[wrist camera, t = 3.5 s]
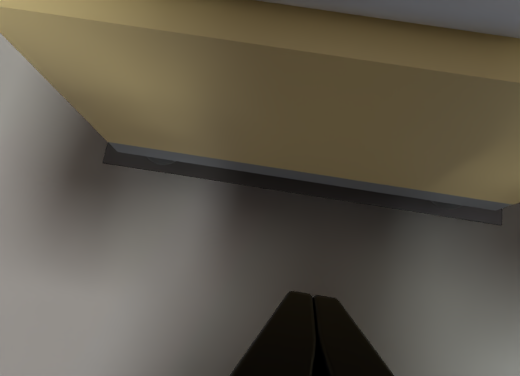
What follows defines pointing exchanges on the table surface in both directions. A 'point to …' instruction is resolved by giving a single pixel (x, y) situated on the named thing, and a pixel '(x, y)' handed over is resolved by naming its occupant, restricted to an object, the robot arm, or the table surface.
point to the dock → (302, 187)
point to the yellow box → (296, 87)
